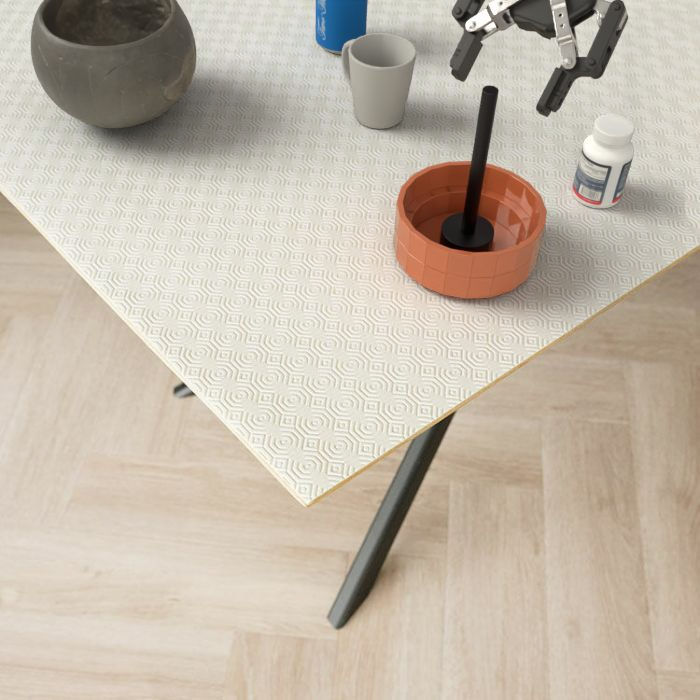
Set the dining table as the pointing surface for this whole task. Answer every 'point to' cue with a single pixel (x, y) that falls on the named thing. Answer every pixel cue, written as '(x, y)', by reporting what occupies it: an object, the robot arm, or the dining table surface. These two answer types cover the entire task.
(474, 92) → the dining table surface
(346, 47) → the cup
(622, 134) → the pill bottle
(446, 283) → the mixing bowl
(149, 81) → the bowl
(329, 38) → the beverage can
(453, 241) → the black plunger
